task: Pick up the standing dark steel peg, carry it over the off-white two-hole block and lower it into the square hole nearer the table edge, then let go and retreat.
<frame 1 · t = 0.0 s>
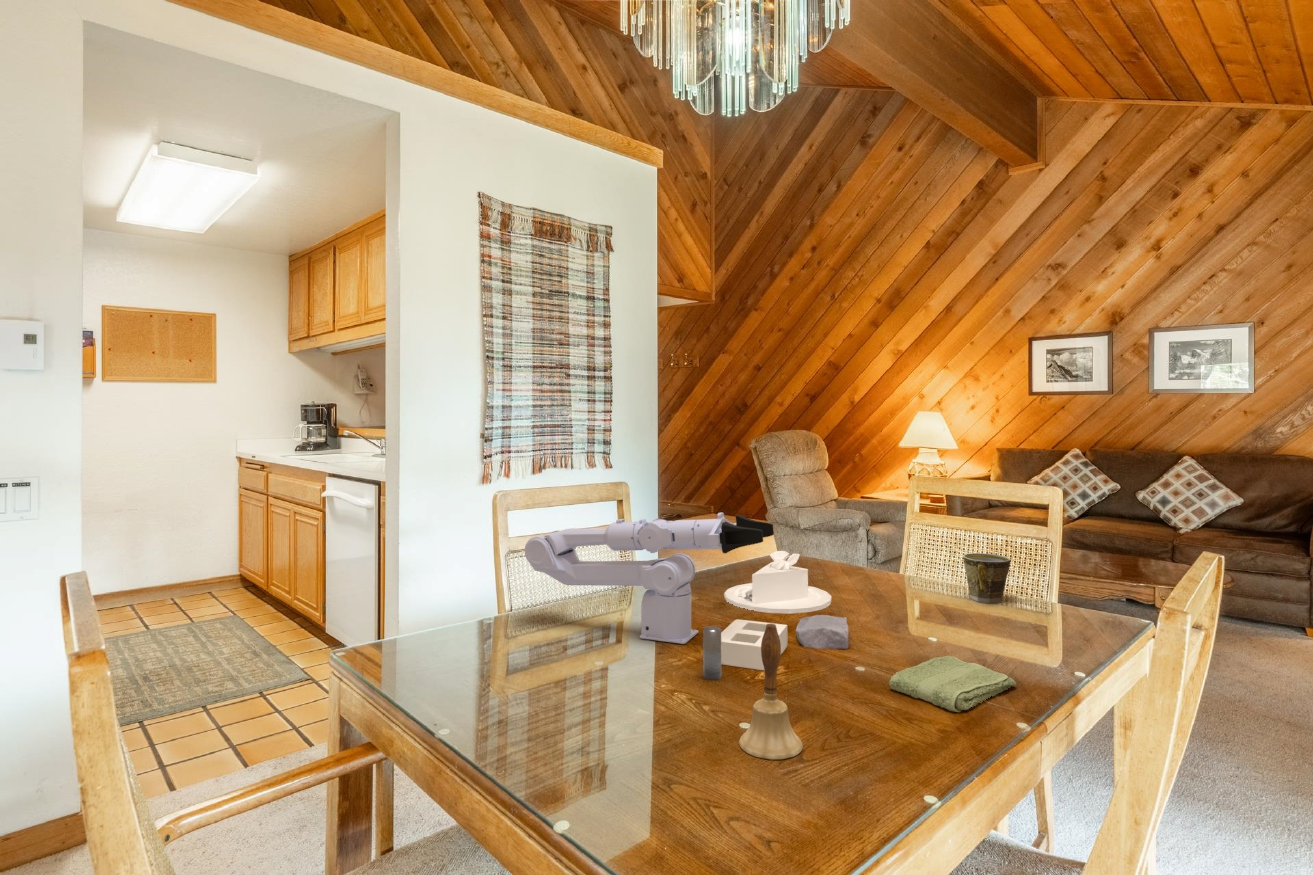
hand: (767, 532, 130), 22 cm above the table, tool horizontal, fingers open, 7 cm apart
stone block: (821, 641, 137), on the table
hand bell: (770, 746, 93), on the table
dish: (777, 600, 166), on the table
peg: (712, 676, 117), on the table
ceramic cup: (984, 602, 163), on the table
washcloth: (951, 691, 112), on the table
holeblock: (751, 654, 128), on the table
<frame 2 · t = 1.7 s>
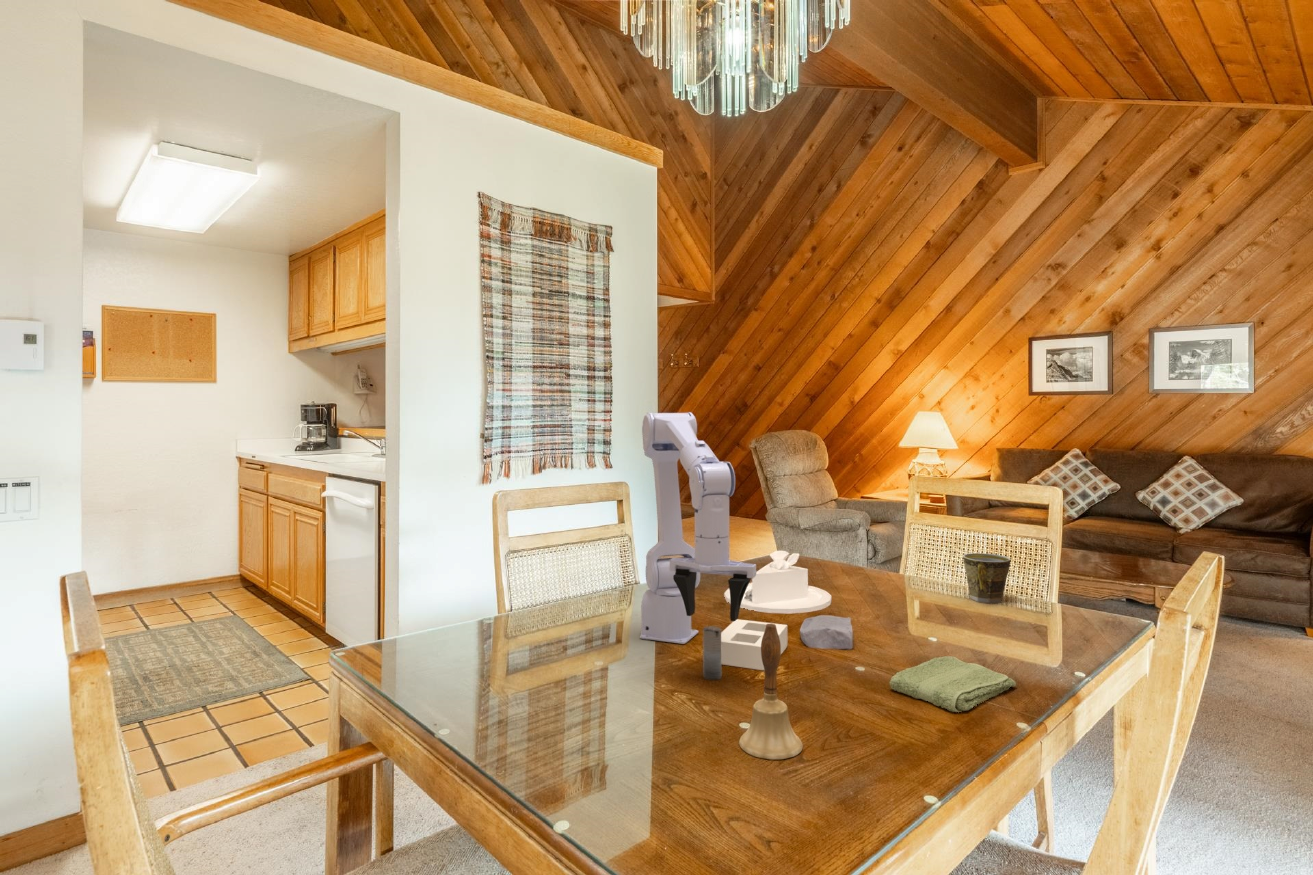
hand: (712, 616, 117), 10 cm above the table, tool pointing down, fingers open, 7 cm apart
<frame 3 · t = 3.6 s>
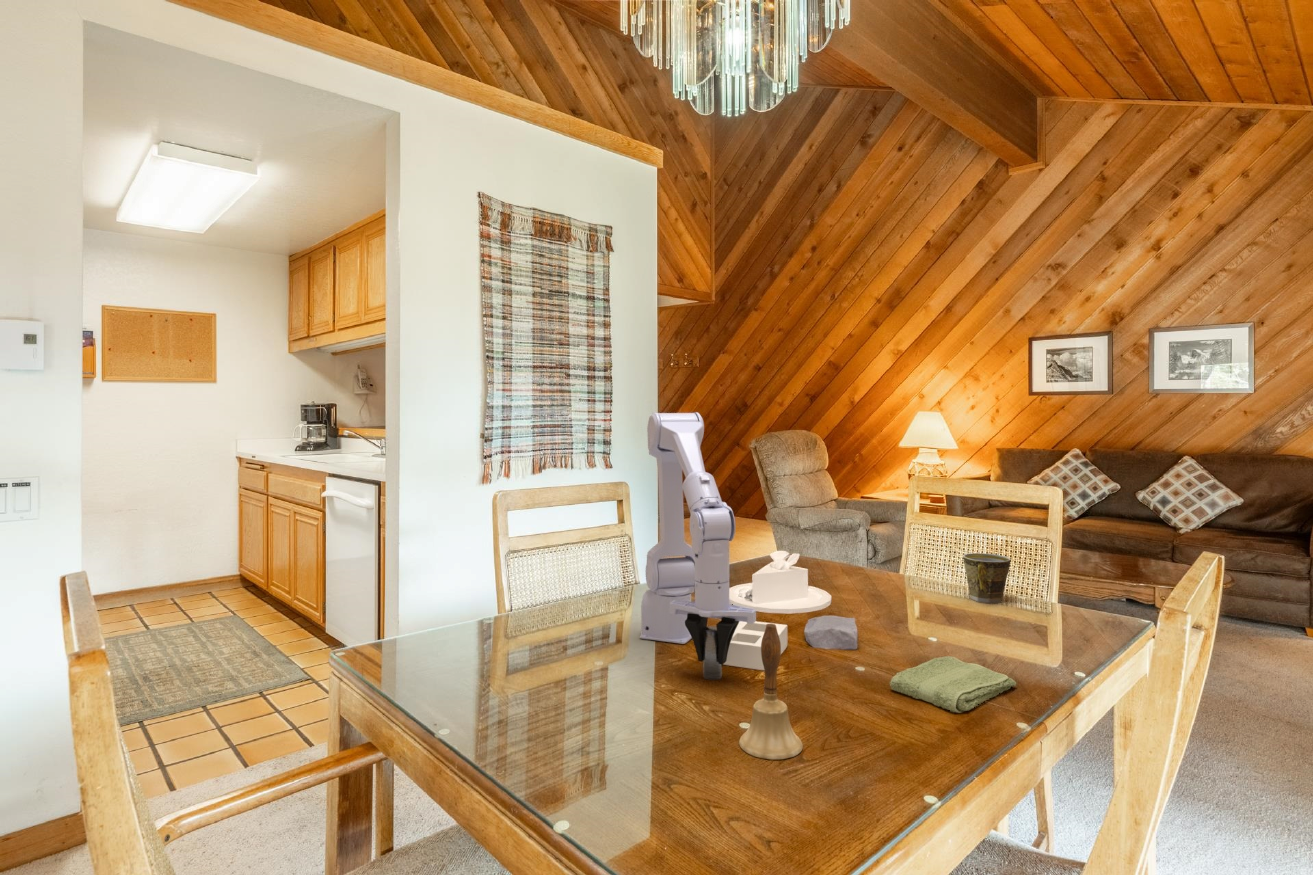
hand: (712, 660, 117), 3 cm above the table, tool pointing down, fingers closed on peg, 3 cm apart
peg: (712, 676, 117), on the table, touching gripper
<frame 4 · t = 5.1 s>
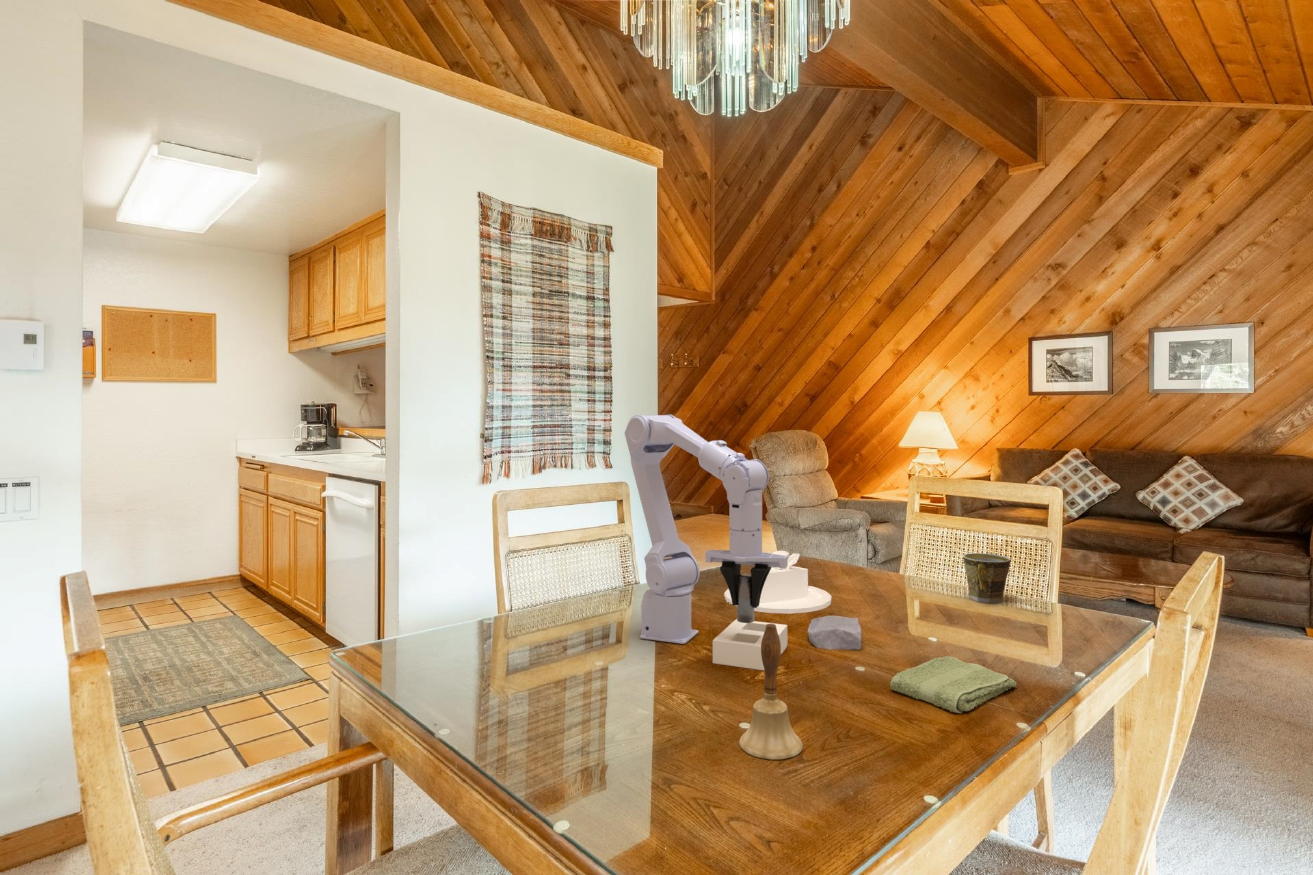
hand: (745, 605, 124), 10 cm above the table, tool pointing down, fingers closed on peg, 3 cm apart
peg: (745, 620, 124), point 7 cm above the table, touching gripper
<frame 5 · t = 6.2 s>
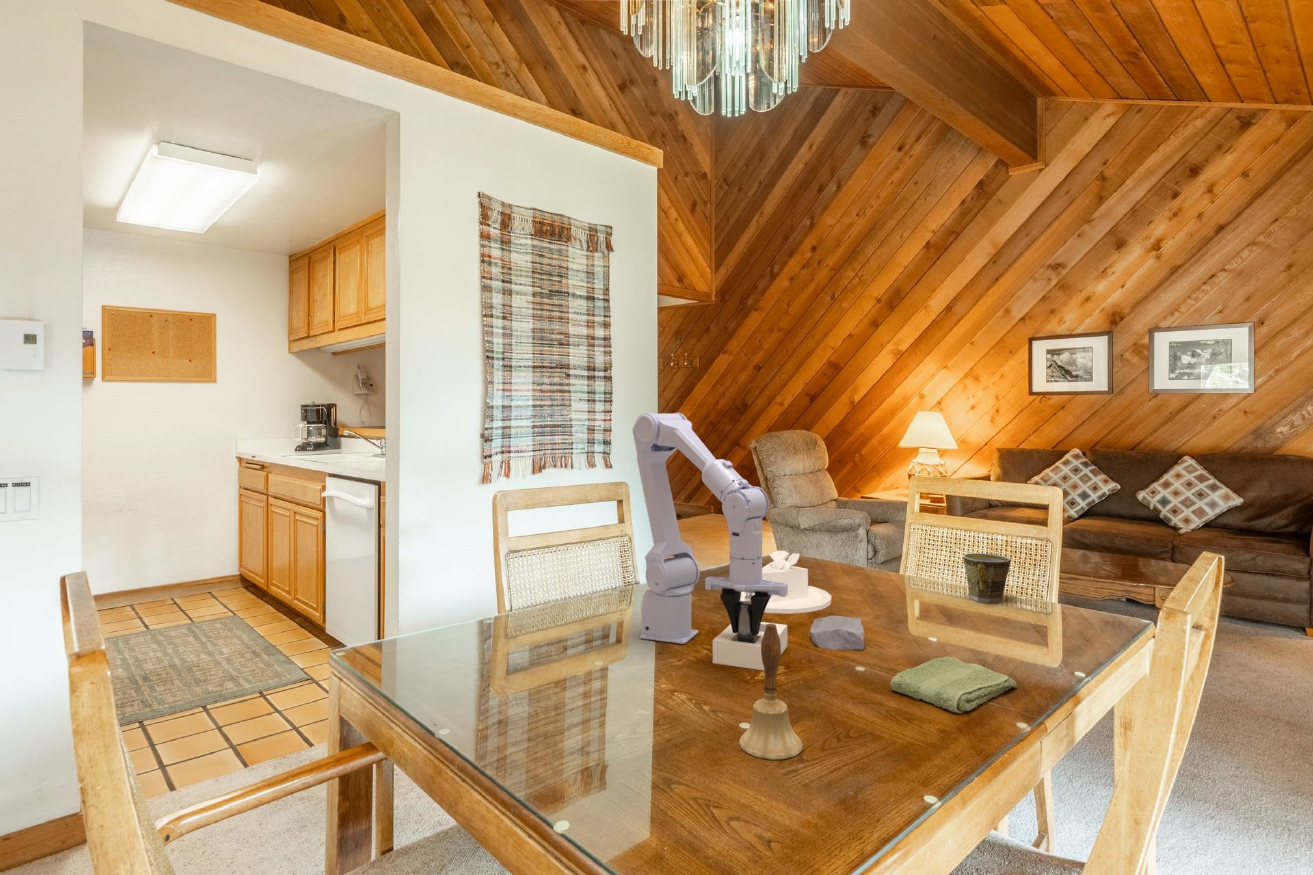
hand: (745, 632, 124), 5 cm above the table, tool pointing down, fingers closed on peg, 3 cm apart
peg: (745, 647, 124), point 2 cm above the table, touching gripper
when the fingers open (5 cm above the table, at t = 6.9 s): peg drops 2 cm, resting in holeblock.
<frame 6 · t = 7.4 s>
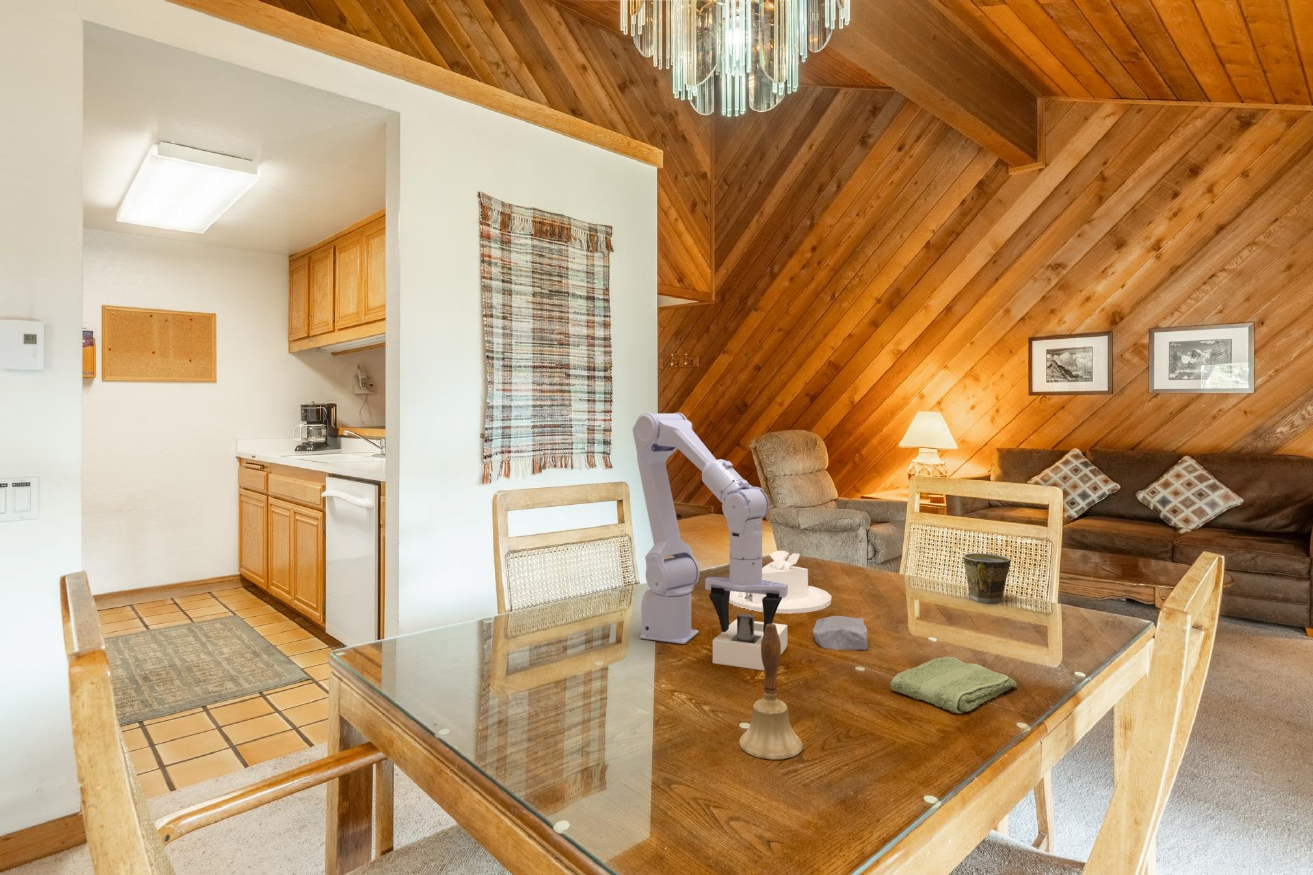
hand: (745, 632, 124), 5 cm above the table, tool pointing down, fingers open, 7 cm apart
peg: (745, 660, 124), resting in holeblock
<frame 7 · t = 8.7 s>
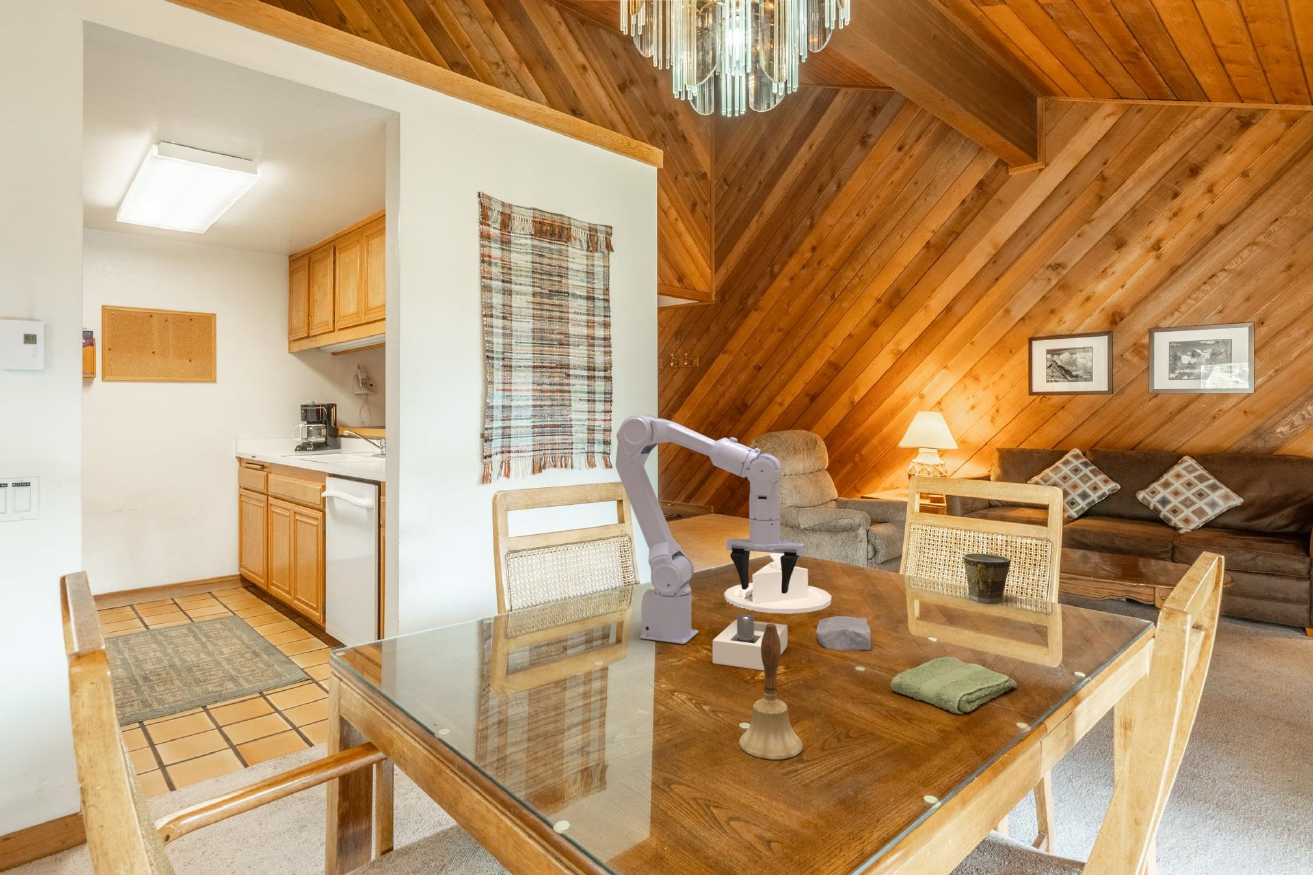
hand: (764, 590, 132), 10 cm above the table, tool pointing down, fingers open, 7 cm apart
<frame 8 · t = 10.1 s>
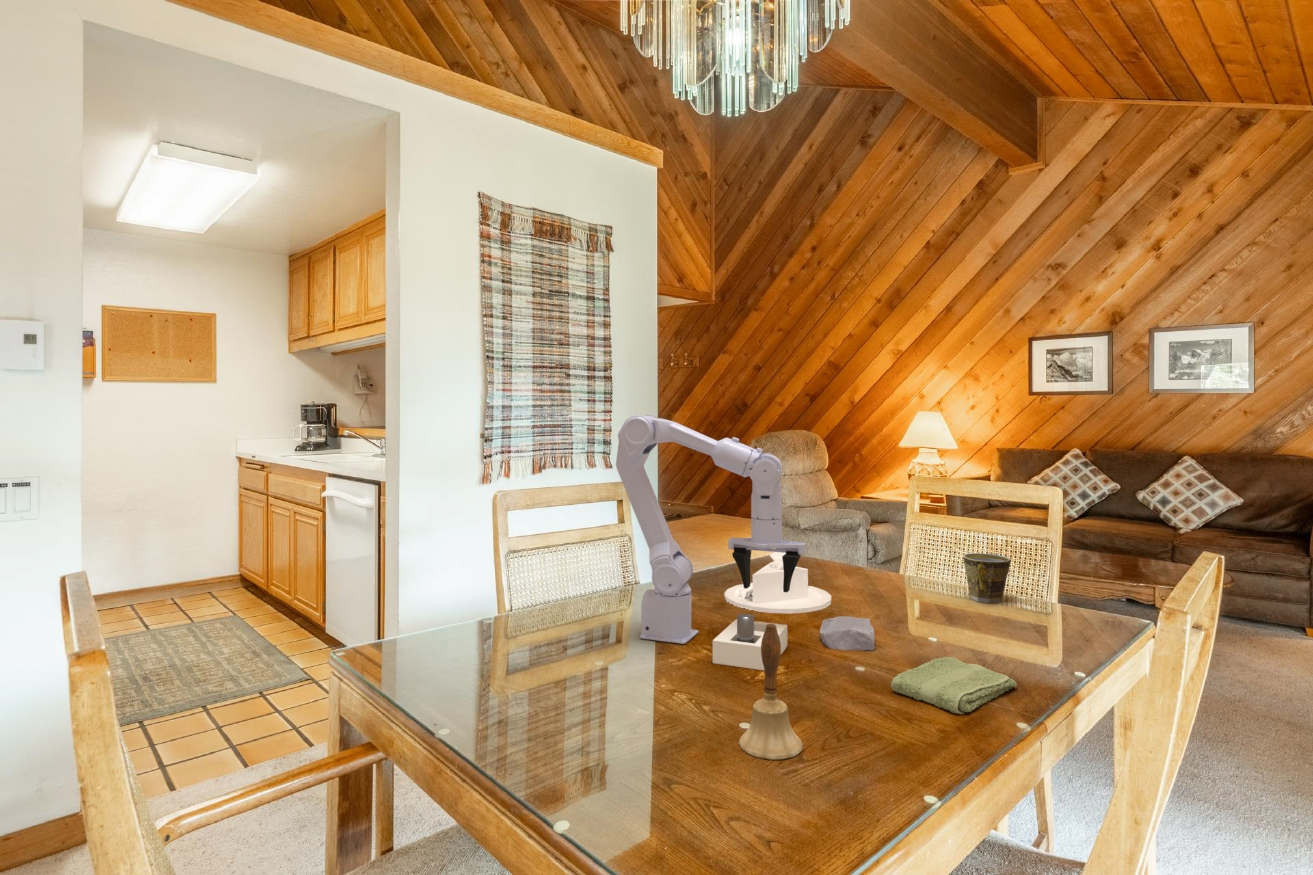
hand: (766, 589, 133), 10 cm above the table, tool pointing down, fingers open, 7 cm apart
at the end: peg 0.1 cm from the target spot on the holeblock, point 0.0 cm above the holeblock's base; peg tilted 0°; the gripper is holding nothing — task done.
